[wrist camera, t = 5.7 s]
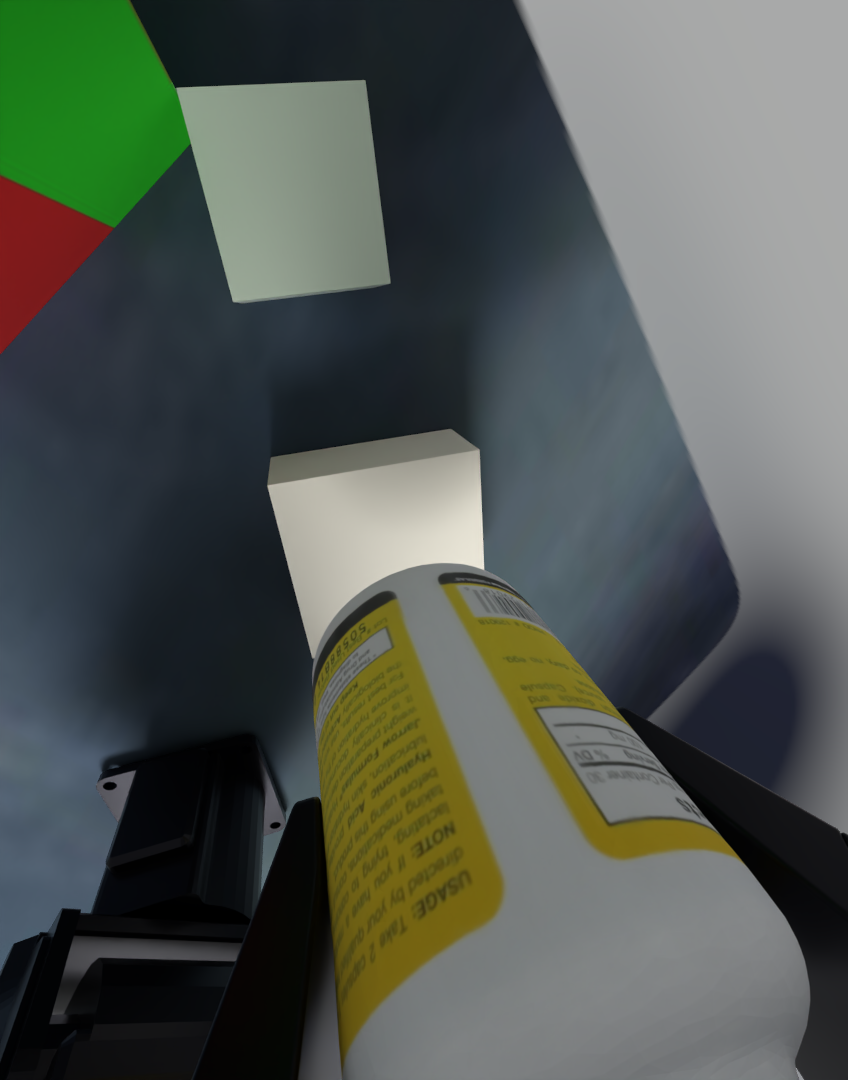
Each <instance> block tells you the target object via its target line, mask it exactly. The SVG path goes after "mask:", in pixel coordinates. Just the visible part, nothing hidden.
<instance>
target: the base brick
mask: <svg viewBox="0 0 848 1080" xmlns="http://www.w3.org/2000/svg"><path fill="white" fill-rule="evenodd" d="M267 486H268V490H269V494H270V498H271V502H272V506H273V509H274V513H275V517H276V521H277V525H278V529H279V532H280V536H281V540H282V544H283V548H284V552H285V555H286V559H287V563H288V567H289V571H290V575H291V578H292V582H293V586H294V590H295V594H296V598H297V601H298V605H299V609H300V613H301V617H302V620H303V624H304V628H305V632H306V636H307V640H308V643H309V647H310V651H311V655H312V659H313V658H315V655H316V651H317V648H318V645H319V643H320V640H321V638H322V636H323V634H324V632H325V630H326V629H327V627H328V625H329V624H330V623H331V621H332V620H333V618H334V617H335V616H336V615H337V613H338V612H339V611H340V610H341V609H342V608H343V607H344V606H345V605H346V604H347V603H348V602H349V601H350V600H351V599H352V598H354V597H355V596H356V595H357V594H359V593H360V592H361V591H362V590H364V589H365V588H367V587H368V586H370V585H372V584H373V583H375V582H377V581H379V580H381V579H383V578H385V577H386V576H389V575H391V574H394V573H396V572H399V571H402V570H405V569H407V568H411V567H416V566H420V565H426V564H434V563H456V564H465V565H469V566H473V567H477V568H480V569H482V570H484V553H483V527H482V501H481V474H480V450H479V449H478V448H477V447H475V446H474V445H472V444H471V443H470V442H468V441H467V440H466V439H464V438H463V437H462V436H460V435H459V434H457V433H456V432H455V431H453V430H452V429H446V430H440V431H433V432H427V433H421V434H414V435H408V436H402V437H395V438H389V439H383V440H376V441H370V442H364V443H358V444H351V445H345V446H339V447H332V448H326V449H320V450H313V451H307V452H301V453H294V454H288V455H282V456H275V457H271V460H270V468H269V476H268V484H267Z"/></svg>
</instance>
